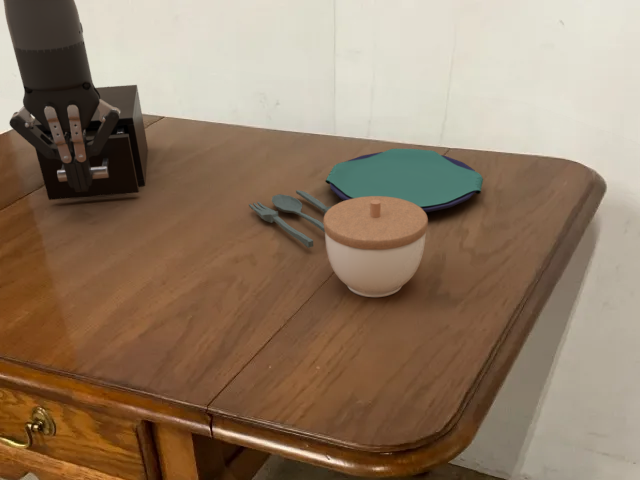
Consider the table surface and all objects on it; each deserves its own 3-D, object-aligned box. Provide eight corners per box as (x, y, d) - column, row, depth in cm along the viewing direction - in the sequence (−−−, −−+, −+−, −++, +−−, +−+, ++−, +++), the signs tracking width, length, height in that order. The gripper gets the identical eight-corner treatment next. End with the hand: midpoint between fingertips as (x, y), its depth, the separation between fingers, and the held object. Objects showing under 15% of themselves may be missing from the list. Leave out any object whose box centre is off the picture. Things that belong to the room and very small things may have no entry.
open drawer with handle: (137, 207, 99) (126, 150, 94) (44, 215, 97) (28, 157, 93) (141, 155, 113) (132, 103, 108) (60, 161, 111) (47, 109, 107)
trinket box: (441, 274, 85) (447, 193, 79) (393, 319, 78) (395, 234, 72) (358, 251, 90) (358, 173, 84) (306, 291, 83) (302, 209, 77)
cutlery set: (510, 199, 100) (512, 182, 99) (312, 262, 88) (312, 244, 86) (417, 153, 113) (418, 138, 112) (235, 202, 101) (233, 185, 100)
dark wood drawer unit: (145, 185, 106) (132, 117, 100) (50, 193, 105) (31, 125, 99) (147, 147, 118) (136, 84, 112) (62, 154, 116) (46, 90, 111)
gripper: (-23, 50, 81) (22, 206, 91) (106, 42, 82) (135, 197, 93) (-9, 33, 86) (32, 181, 97) (111, 26, 88) (138, 173, 99)
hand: (82, 189), depth 95 cm, fingers closed
